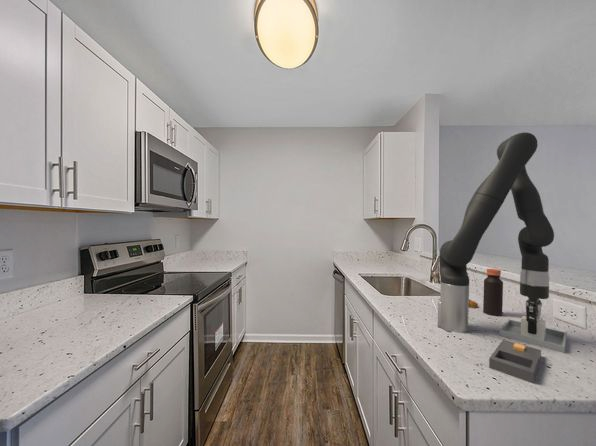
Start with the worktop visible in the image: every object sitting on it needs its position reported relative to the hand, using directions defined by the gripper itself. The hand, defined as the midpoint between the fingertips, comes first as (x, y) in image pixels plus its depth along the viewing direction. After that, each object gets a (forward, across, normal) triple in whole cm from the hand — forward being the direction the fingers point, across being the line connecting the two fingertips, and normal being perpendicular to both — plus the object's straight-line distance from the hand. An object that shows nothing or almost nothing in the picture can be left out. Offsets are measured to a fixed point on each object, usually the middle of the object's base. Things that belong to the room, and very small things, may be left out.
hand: (533, 331), depth 91 cm
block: (+2, 0, 0) cm, 2 cm away
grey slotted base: (+2, +26, -1) cm, 26 cm away
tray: (+2, 0, 0) cm, 2 cm away
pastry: (+3, -24, -27) cm, 37 cm away
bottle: (+3, -18, -15) cm, 24 cm away
